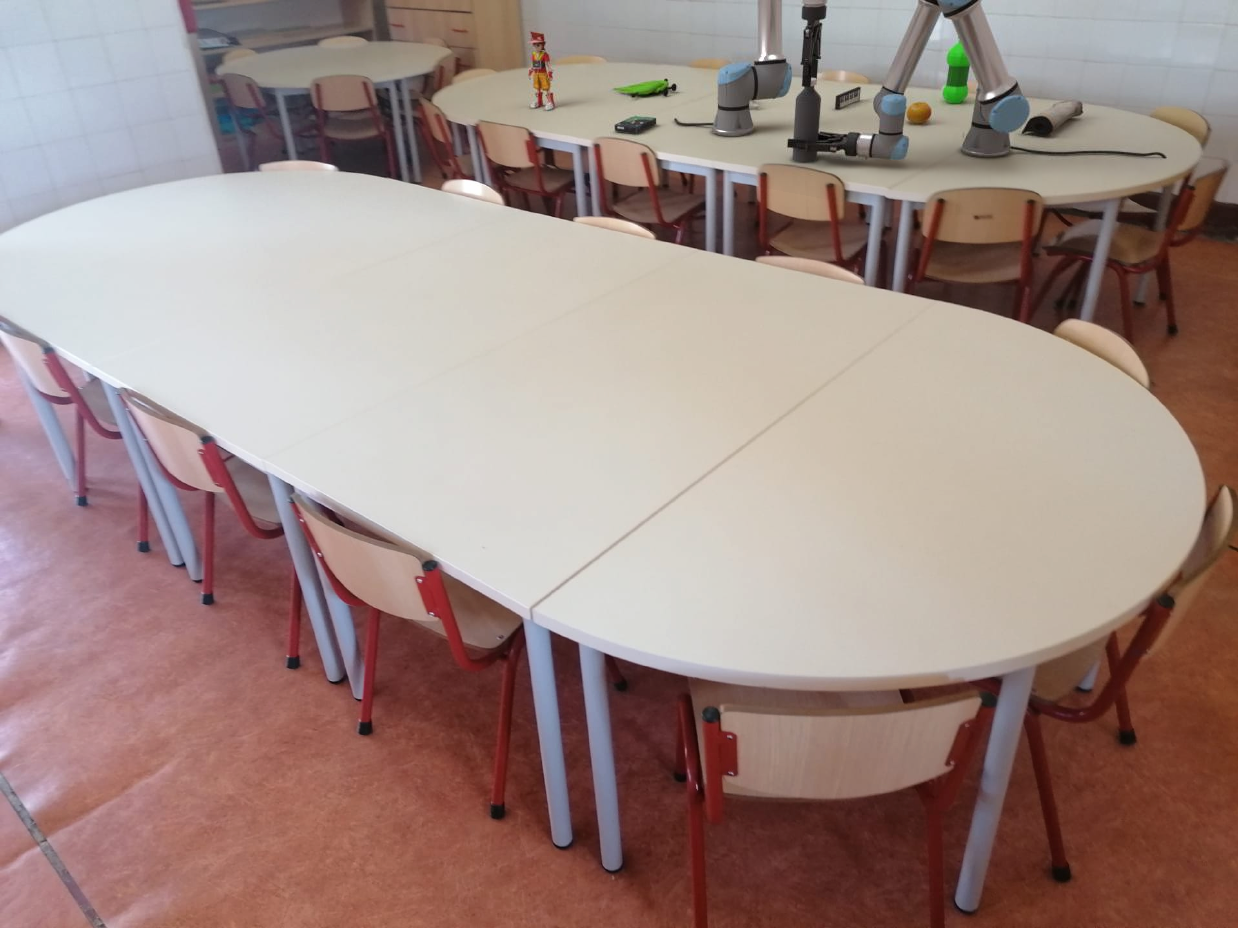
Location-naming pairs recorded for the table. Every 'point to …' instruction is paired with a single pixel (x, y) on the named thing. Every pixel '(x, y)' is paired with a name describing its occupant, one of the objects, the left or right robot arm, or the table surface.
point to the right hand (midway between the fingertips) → (792, 139)
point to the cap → (813, 81)
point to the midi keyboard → (847, 97)
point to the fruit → (919, 112)
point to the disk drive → (635, 124)
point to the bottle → (806, 122)
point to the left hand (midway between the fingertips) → (809, 83)
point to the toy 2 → (648, 88)
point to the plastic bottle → (956, 75)
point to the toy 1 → (541, 71)
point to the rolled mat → (1053, 118)
